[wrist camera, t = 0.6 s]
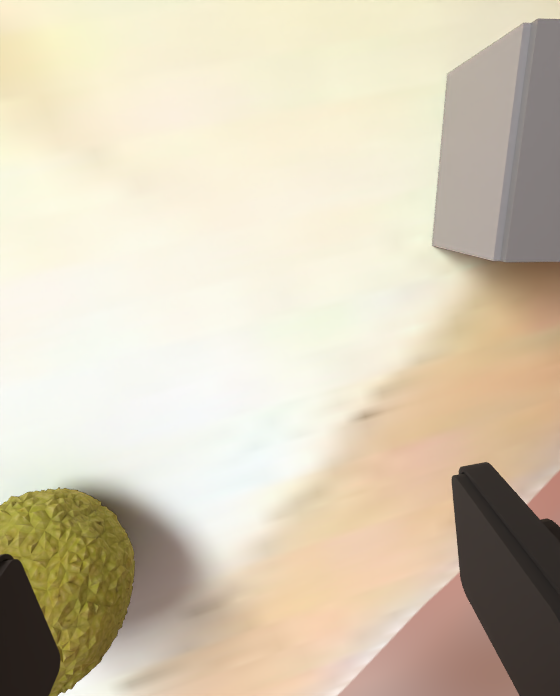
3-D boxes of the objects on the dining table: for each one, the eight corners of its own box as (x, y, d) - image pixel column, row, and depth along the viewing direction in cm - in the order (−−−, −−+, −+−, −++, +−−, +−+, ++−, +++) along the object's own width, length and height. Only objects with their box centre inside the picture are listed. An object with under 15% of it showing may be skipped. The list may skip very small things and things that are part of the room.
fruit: (26, 418, 40) (52, 539, 28) (140, 496, 48) (197, 614, 36) (-142, 567, 37) (-191, 771, 25) (10, 622, 46) (27, 793, 34)
